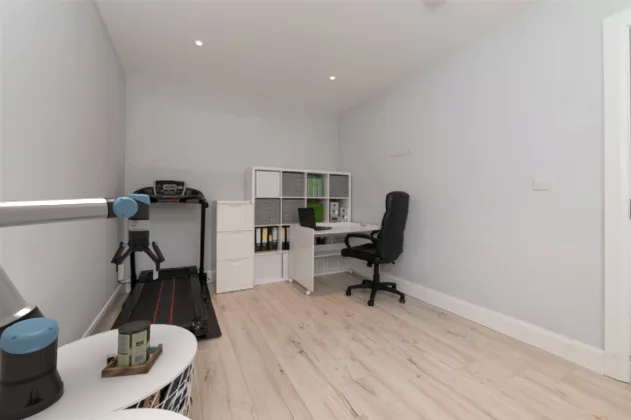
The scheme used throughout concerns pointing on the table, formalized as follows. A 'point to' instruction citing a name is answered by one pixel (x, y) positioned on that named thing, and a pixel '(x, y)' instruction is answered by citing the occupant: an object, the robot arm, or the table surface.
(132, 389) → the table surface
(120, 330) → the coffee can
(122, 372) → the shallow wooden tray
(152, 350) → the gate
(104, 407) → the table surface
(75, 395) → the table surface
